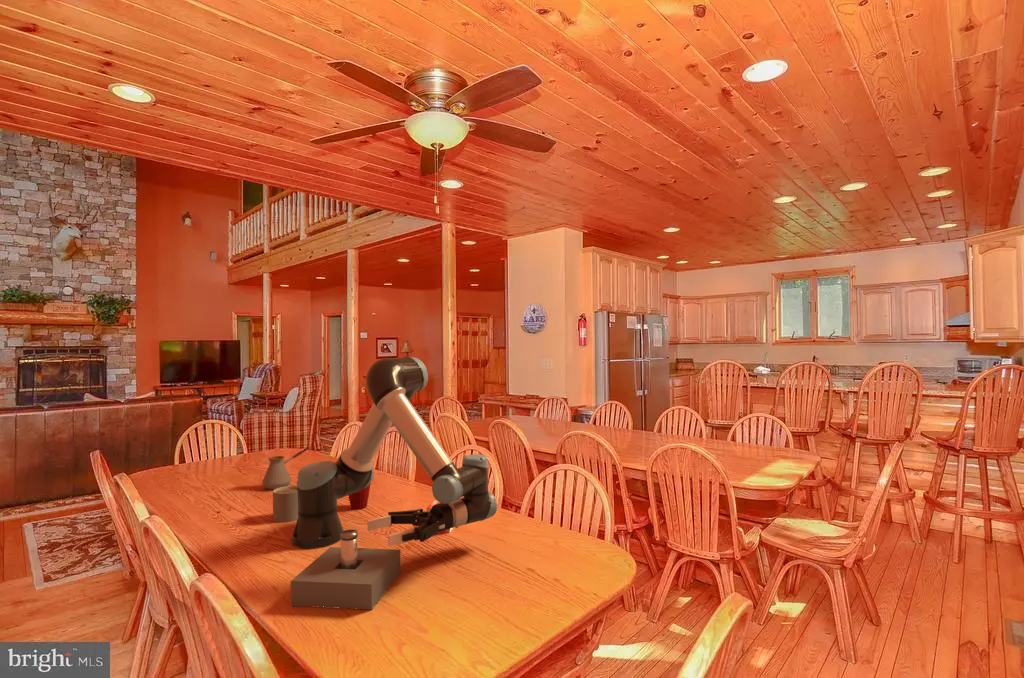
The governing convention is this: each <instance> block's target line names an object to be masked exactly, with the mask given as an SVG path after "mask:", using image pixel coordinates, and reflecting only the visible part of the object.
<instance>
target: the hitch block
mask: <svg viewBox="0 0 1024 678" xmlns="http://www.w3.org/2000/svg"><path fill="white" fill-rule="evenodd" d="M357 561H358V567H357V568H356V569H341V546H340V547H338V546H337V547H336V546H334V547H333V546H329V547H328V548H327V549H326V550H325V551H323V552H322V553H321V554H320V555H319V556H318V557H317V558H316V559H314V560H313V561H312V562H311V563H310V564H308V565H307V566H306V567H305V568H304V569H303V570H302V571H300V572H299V573H298V574H297V575H296V576H294V578H292V579H291V580H290V606H291V605H296V606H295V607H301V606H315V607H314V608H321V607H323V606H324V607H339V608H338V609H340V608H357V609H356V610H360V609H372V610H373V609H374V608H375V607H376V605H377V604H378V603H379V601H380V600H381V599H380V598H382V597H383V596H384V595H385V593H386V592H387V591H388V589H389V588H390V587H391V585H392V584H393V582H394V581H395V580H396V578H397V577H398V576H399V575H400V573H401V570H402V569H401V549H394V548H392V549H391V548H368V547H367V548H363V547H357ZM383 594H384V595H383ZM377 602H378V603H377ZM376 603H377V604H376ZM317 606H319V607H317ZM374 606H375V607H374ZM373 607H374V608H373Z"/></svg>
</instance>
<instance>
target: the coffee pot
mask: <svg viewBox="0 0 1024 678" xmlns="http://www.w3.org/2000/svg"><path fill="white" fill-rule="evenodd" d="M307 450H308V451H309V450H312V448H311V447H310V446H308V447H306V448H303V450H301V451H298V452H297V453H296V454H294V455H293V456H291V457H290V458H288V459H286V460H285V461H284V459H285V456H282V455H278V456H271V457H268V461H269V465H268V467H267V470H266V472H265V474H264V477H263V479H262V482H261V484H262V486H263V487H264V488H265V489H267V490H270V491H273V490H275V489H277V488H280V487H285V486H289V485H290V483H291V481H292V478H291V475H290V473H289V471H288V469H287V468H286V466H285V465H286V463H289V462H290V461H292V460H293V459H296V458H297V457H299V456H300V455H302V454H303V453H305V452H307Z"/></svg>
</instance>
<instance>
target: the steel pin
mask: <svg viewBox="0 0 1024 678" xmlns="http://www.w3.org/2000/svg"><path fill="white" fill-rule="evenodd" d="M358 533H359V532H358V530H356V529H347V530H346V529H345V530H343V532H341V533H340V539H341V540H340V547H341V569H356V568H357V567H358V561H357V548H358V536H359V535H358Z"/></svg>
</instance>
